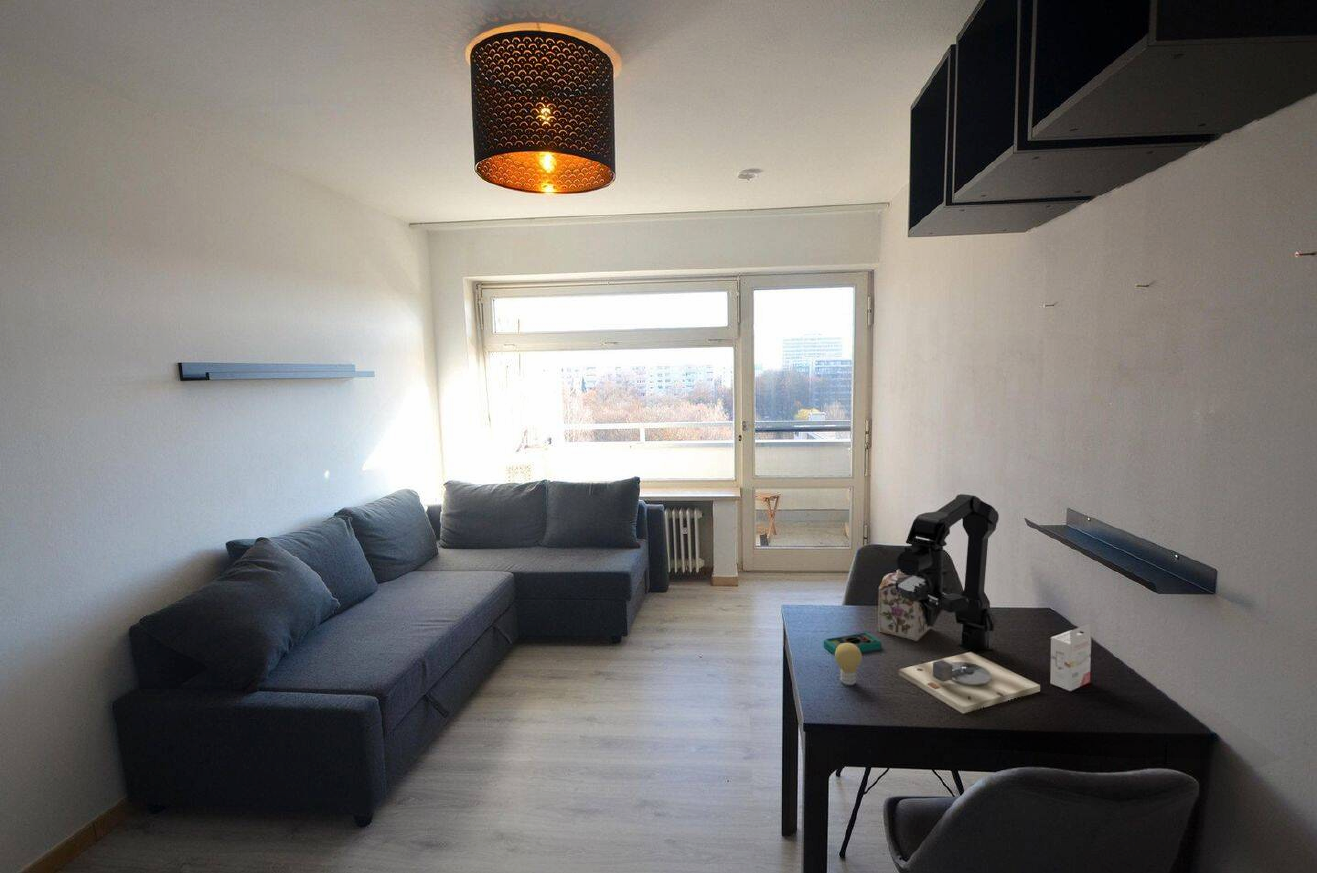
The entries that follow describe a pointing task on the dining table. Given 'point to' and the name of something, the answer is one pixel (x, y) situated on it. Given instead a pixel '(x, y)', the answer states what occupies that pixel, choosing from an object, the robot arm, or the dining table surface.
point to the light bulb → (848, 661)
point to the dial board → (966, 696)
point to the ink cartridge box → (1071, 658)
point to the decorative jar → (899, 611)
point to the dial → (961, 673)
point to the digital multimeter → (854, 642)
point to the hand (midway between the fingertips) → (930, 626)
